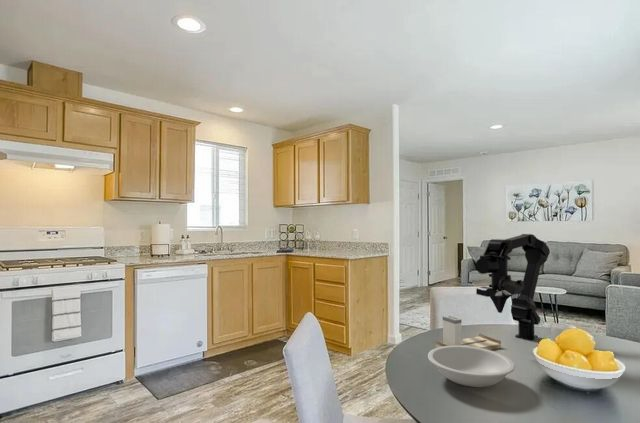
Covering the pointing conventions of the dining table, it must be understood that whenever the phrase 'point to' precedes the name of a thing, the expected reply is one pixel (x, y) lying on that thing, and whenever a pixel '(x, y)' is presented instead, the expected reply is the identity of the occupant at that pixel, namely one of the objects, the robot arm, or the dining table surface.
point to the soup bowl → (471, 365)
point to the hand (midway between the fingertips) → (500, 312)
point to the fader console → (477, 342)
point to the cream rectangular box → (451, 331)
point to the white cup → (558, 329)
